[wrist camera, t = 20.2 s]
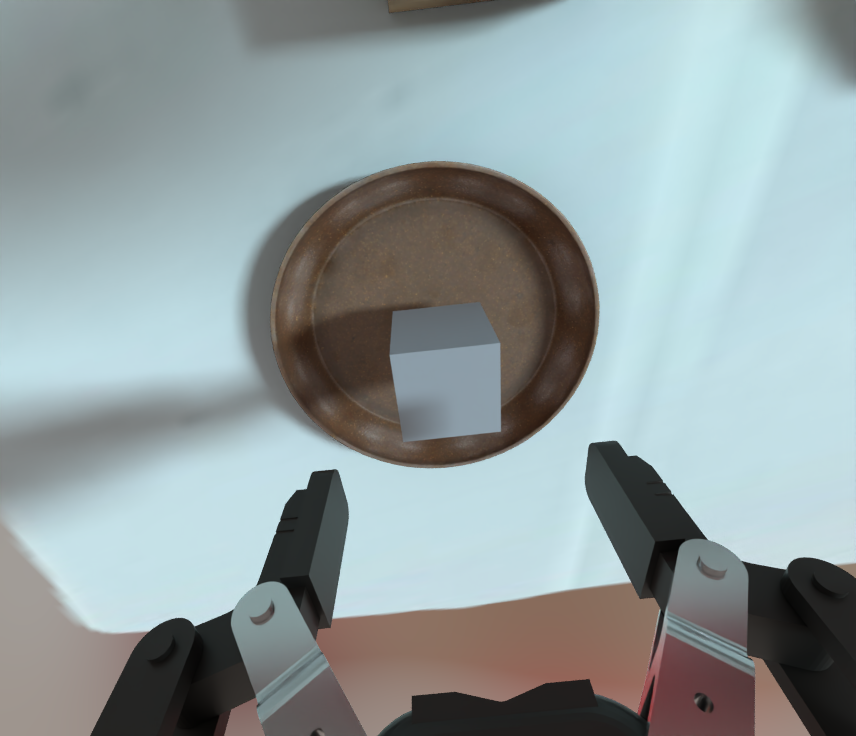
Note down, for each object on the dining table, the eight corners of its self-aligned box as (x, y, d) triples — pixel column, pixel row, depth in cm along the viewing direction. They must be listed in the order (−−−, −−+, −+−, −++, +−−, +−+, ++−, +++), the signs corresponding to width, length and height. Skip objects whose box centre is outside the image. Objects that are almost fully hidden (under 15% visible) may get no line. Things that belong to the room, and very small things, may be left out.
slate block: (479, 301, 20) (500, 343, 16) (482, 377, 23) (501, 431, 18) (392, 311, 20) (389, 354, 16) (403, 385, 23) (403, 442, 18)
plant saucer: (218, 257, 22) (192, 272, 19) (524, 89, 19) (543, 78, 16) (376, 472, 30) (374, 503, 27) (608, 378, 27) (631, 403, 24)
